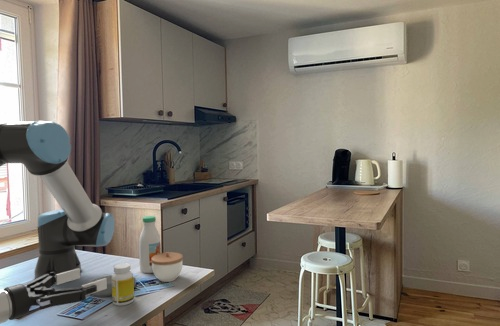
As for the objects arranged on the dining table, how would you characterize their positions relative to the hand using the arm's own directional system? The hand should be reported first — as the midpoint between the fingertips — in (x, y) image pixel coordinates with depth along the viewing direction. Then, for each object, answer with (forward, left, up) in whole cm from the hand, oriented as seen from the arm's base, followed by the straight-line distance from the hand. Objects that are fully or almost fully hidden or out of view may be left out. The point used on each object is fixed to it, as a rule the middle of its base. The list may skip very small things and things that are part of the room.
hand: (92, 277), depth 104 cm
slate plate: (-13, +14, -10) cm, 22 cm away
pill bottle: (-1, +10, -11) cm, 15 cm away
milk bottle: (-16, +32, -11) cm, 37 cm away
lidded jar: (-4, +30, -11) cm, 32 cm away
